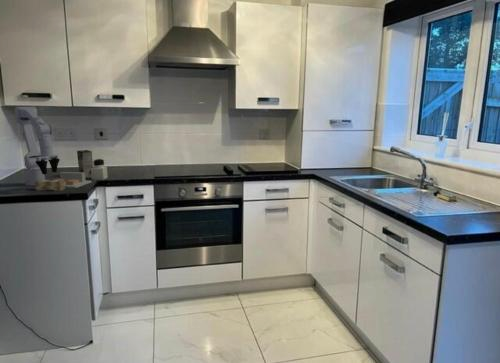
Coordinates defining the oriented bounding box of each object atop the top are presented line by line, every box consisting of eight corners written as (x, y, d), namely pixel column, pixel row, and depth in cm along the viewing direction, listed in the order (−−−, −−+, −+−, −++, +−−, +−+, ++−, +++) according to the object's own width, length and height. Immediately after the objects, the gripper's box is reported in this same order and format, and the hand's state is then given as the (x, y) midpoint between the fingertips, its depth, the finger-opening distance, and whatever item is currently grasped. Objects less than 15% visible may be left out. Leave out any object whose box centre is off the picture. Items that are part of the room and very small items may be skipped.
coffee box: (78, 175, 236) (76, 150, 233) (89, 174, 241) (86, 149, 237) (84, 177, 230) (81, 151, 226) (94, 176, 234) (92, 151, 231)
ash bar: (35, 190, 196) (34, 181, 195) (40, 188, 200) (39, 179, 199) (60, 191, 194) (59, 181, 193) (65, 189, 198) (64, 180, 197)
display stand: (42, 186, 204) (41, 176, 202) (60, 181, 218) (59, 171, 217) (75, 187, 200) (74, 177, 199) (91, 182, 215) (90, 172, 214)
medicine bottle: (107, 177, 229) (106, 158, 226) (103, 179, 222) (102, 160, 219) (96, 177, 229) (94, 158, 226) (91, 180, 222) (89, 160, 219)
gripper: (43, 148, 185) (46, 174, 187) (61, 146, 200) (65, 171, 202) (30, 148, 187) (34, 175, 189) (50, 146, 201) (53, 171, 203)
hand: (49, 173), depth 195 cm, fingers open, 7 cm apart
